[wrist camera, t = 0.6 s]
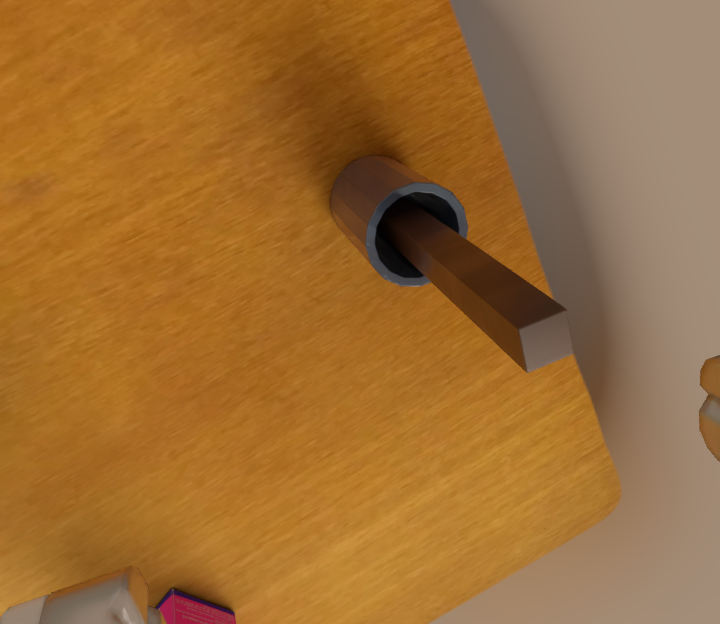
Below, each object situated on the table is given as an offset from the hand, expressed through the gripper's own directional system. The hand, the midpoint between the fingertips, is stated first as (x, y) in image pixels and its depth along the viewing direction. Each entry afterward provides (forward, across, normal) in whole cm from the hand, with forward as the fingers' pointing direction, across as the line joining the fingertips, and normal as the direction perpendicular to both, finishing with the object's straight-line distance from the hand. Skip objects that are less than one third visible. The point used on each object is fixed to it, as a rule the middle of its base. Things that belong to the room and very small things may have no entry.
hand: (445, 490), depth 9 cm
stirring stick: (+30, -7, +5) cm, 32 cm away
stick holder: (+31, -7, +5) cm, 32 cm away
